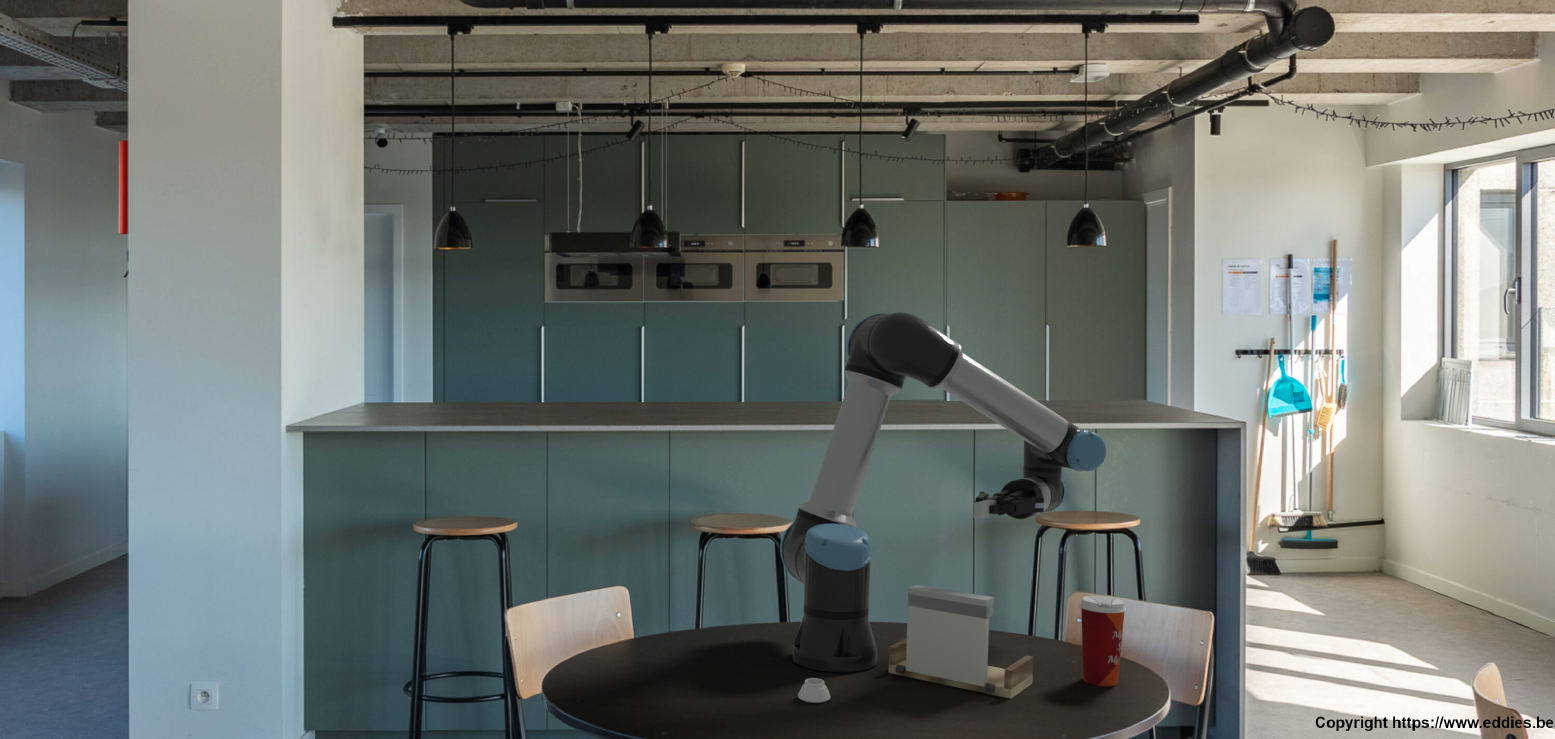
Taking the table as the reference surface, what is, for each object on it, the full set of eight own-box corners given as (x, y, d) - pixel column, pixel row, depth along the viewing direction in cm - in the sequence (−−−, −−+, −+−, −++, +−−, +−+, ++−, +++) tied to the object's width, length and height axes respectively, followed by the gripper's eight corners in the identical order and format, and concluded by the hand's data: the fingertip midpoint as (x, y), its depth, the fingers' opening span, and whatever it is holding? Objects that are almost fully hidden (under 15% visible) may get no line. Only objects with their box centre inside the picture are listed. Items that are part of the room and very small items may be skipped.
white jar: (795, 695, 166) (802, 705, 161) (795, 676, 166) (802, 686, 161) (825, 694, 167) (833, 704, 162) (826, 675, 167) (833, 685, 162)
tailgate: (905, 670, 175) (908, 587, 175) (913, 666, 178) (916, 584, 177) (984, 686, 167) (986, 600, 167) (991, 682, 170) (993, 597, 170)
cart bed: (882, 675, 177) (883, 649, 177) (913, 659, 187) (914, 634, 187) (1006, 702, 165) (1006, 674, 165) (1032, 683, 175) (1033, 656, 175)
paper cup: (1127, 690, 172) (1129, 606, 172) (1079, 686, 174) (1081, 603, 174) (1121, 676, 180) (1123, 596, 180) (1075, 672, 182) (1077, 593, 181)
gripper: (1057, 520, 198) (1013, 536, 178) (992, 513, 205) (942, 528, 185) (1058, 481, 197) (1014, 493, 178) (993, 475, 205) (944, 486, 185)
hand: (978, 511), depth 181 cm, fingers closed
